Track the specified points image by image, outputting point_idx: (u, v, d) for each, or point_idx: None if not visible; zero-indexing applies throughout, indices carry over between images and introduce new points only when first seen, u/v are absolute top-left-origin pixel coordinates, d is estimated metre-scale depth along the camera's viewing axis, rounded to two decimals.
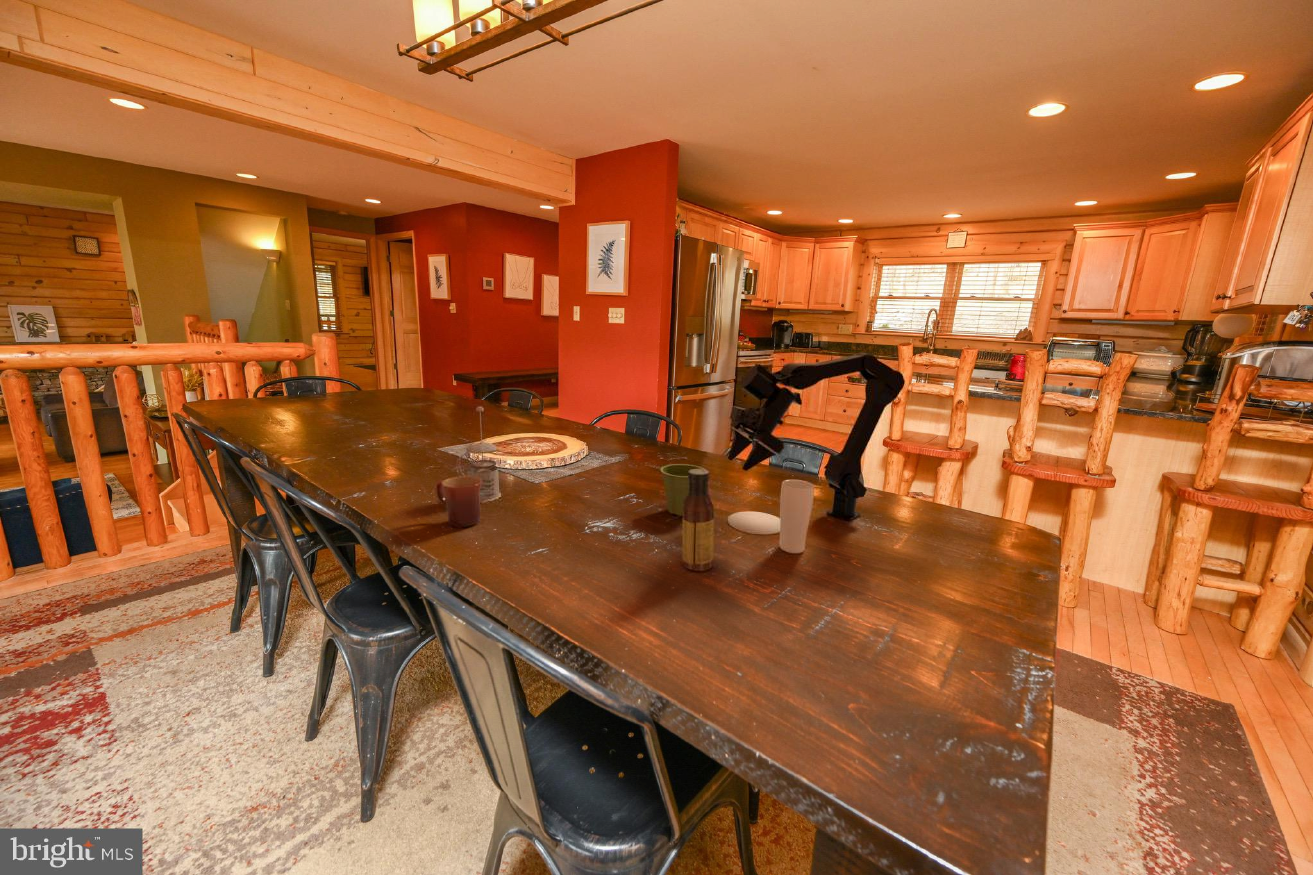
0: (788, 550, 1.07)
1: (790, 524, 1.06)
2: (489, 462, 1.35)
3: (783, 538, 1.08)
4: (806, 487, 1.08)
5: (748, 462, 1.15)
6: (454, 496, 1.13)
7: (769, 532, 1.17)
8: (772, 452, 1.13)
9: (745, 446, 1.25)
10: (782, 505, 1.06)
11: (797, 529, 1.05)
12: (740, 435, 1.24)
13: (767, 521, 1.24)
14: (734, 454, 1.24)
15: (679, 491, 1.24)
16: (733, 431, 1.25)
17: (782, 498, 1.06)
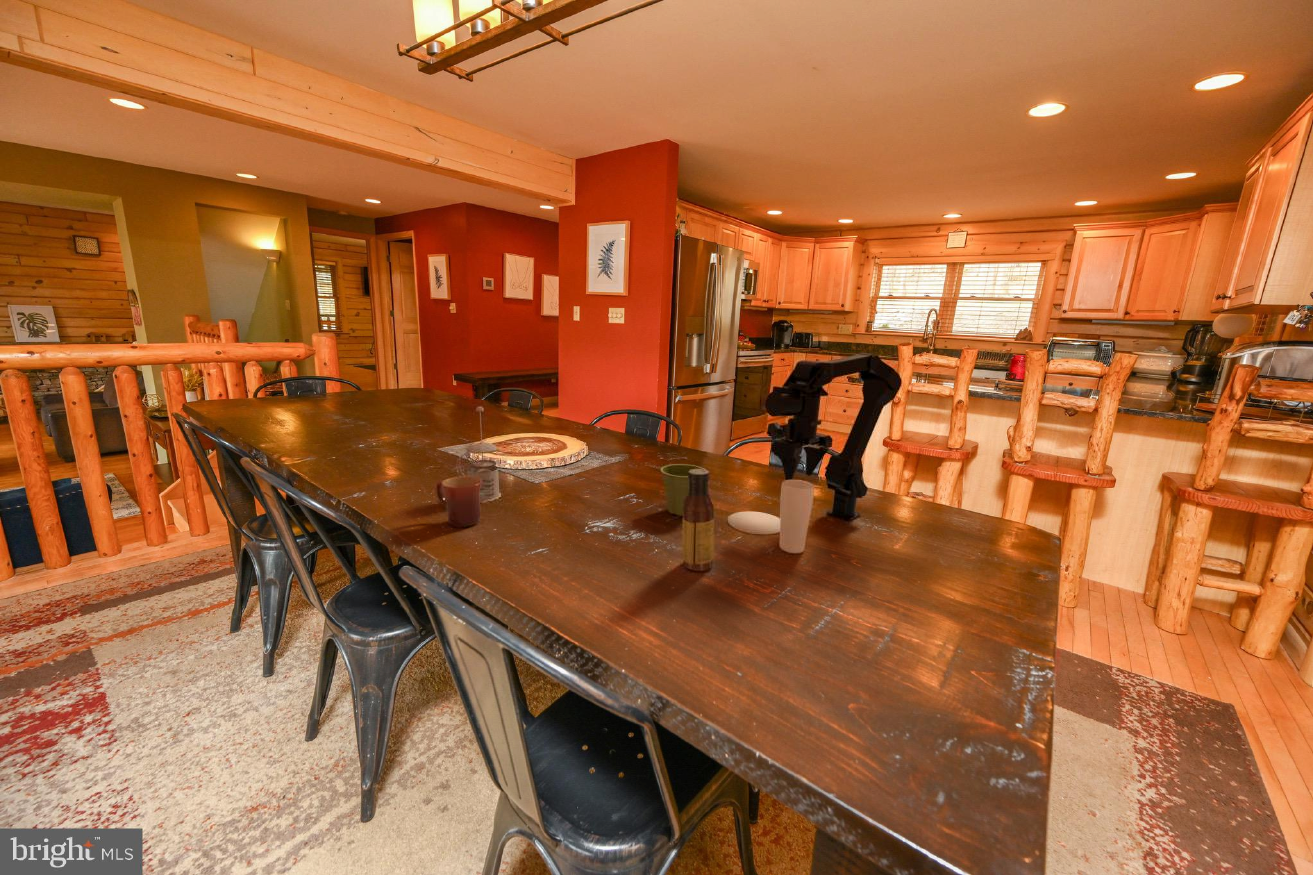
0: (788, 550, 1.07)
1: (790, 524, 1.06)
2: (489, 462, 1.35)
3: (783, 538, 1.08)
4: (806, 487, 1.08)
5: (785, 473, 1.17)
6: (454, 496, 1.13)
7: (769, 532, 1.17)
8: (790, 457, 1.12)
9: (818, 457, 1.21)
10: (782, 505, 1.06)
11: (797, 529, 1.05)
12: (809, 448, 1.23)
13: (767, 521, 1.24)
14: (810, 468, 1.23)
15: (679, 491, 1.24)
16: None
17: (782, 498, 1.06)
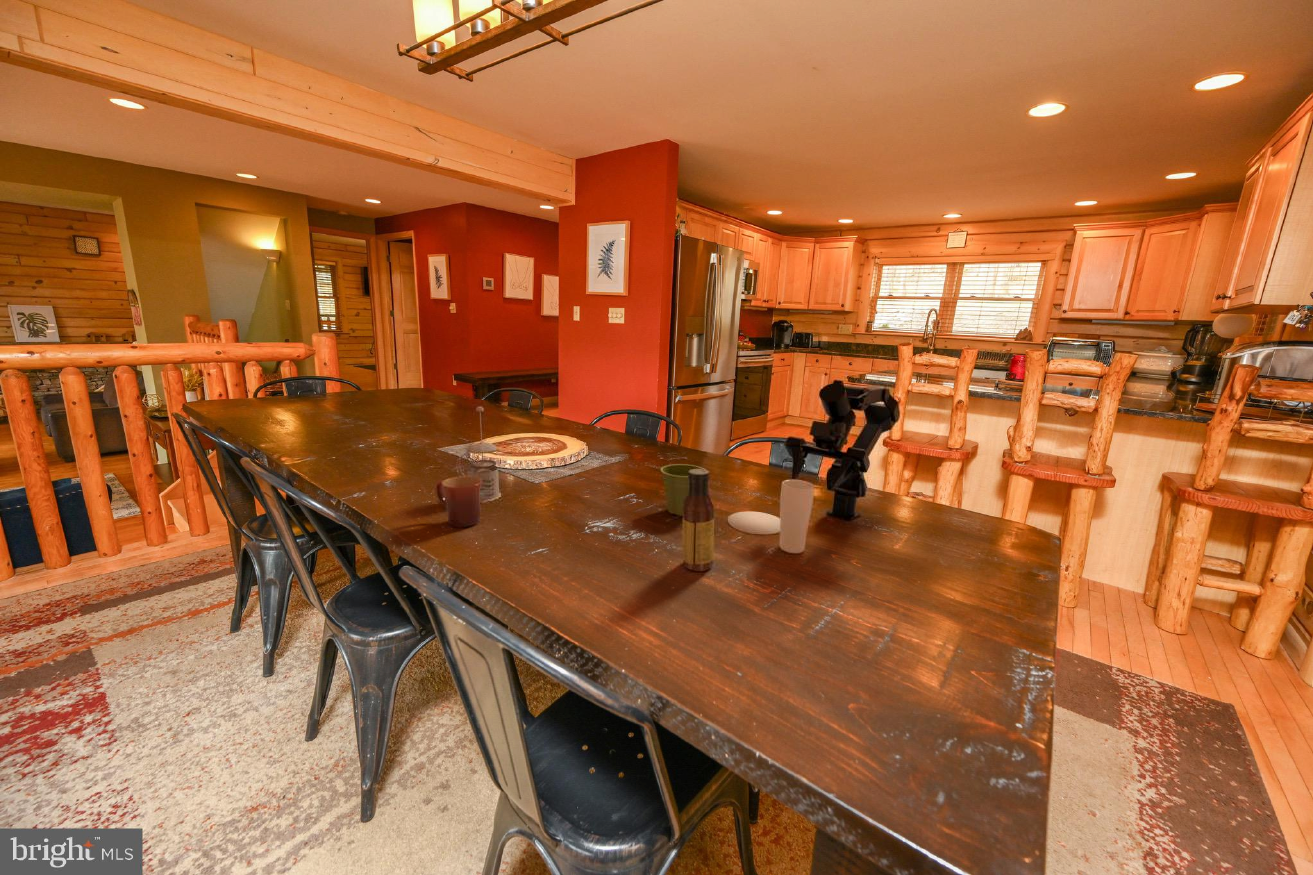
0: (788, 550, 1.07)
1: (790, 524, 1.06)
2: (489, 462, 1.35)
3: (783, 538, 1.08)
4: (806, 487, 1.08)
5: (838, 480, 1.09)
6: (454, 496, 1.13)
7: (769, 532, 1.17)
8: (859, 470, 1.11)
9: (802, 465, 1.18)
10: (782, 505, 1.06)
11: (797, 529, 1.05)
12: (801, 453, 1.17)
13: (767, 521, 1.24)
14: (797, 473, 1.16)
15: (679, 491, 1.24)
16: (795, 449, 1.16)
17: (782, 498, 1.06)
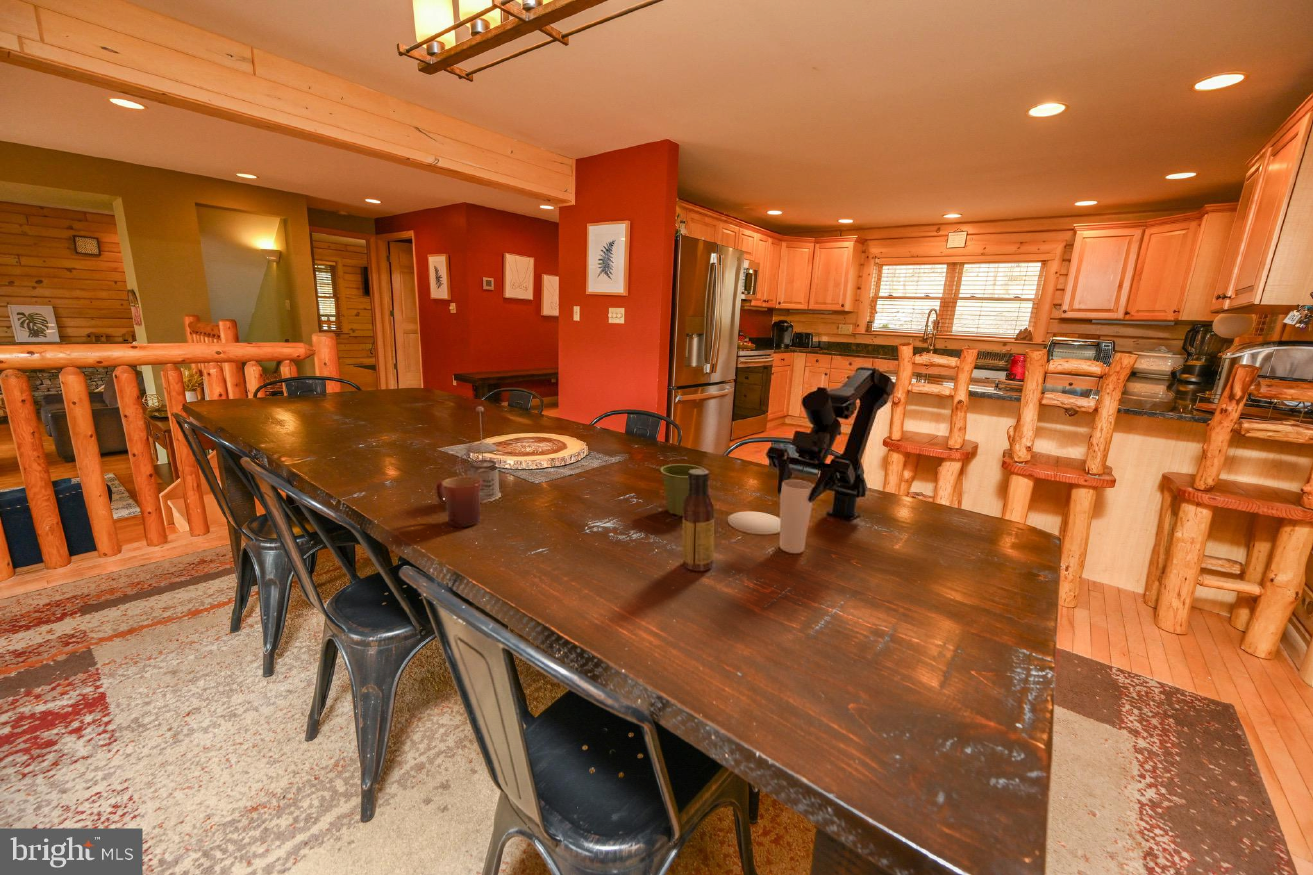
0: (788, 550, 1.07)
1: (790, 524, 1.06)
2: (489, 462, 1.35)
3: (783, 538, 1.08)
4: (806, 487, 1.08)
5: (816, 492, 1.03)
6: (454, 496, 1.13)
7: (769, 532, 1.17)
8: (839, 482, 1.05)
9: (788, 478, 1.11)
10: (782, 505, 1.06)
11: (797, 529, 1.05)
12: (787, 465, 1.10)
13: (767, 521, 1.24)
14: None
15: (679, 491, 1.24)
16: (781, 461, 1.09)
17: (782, 498, 1.06)
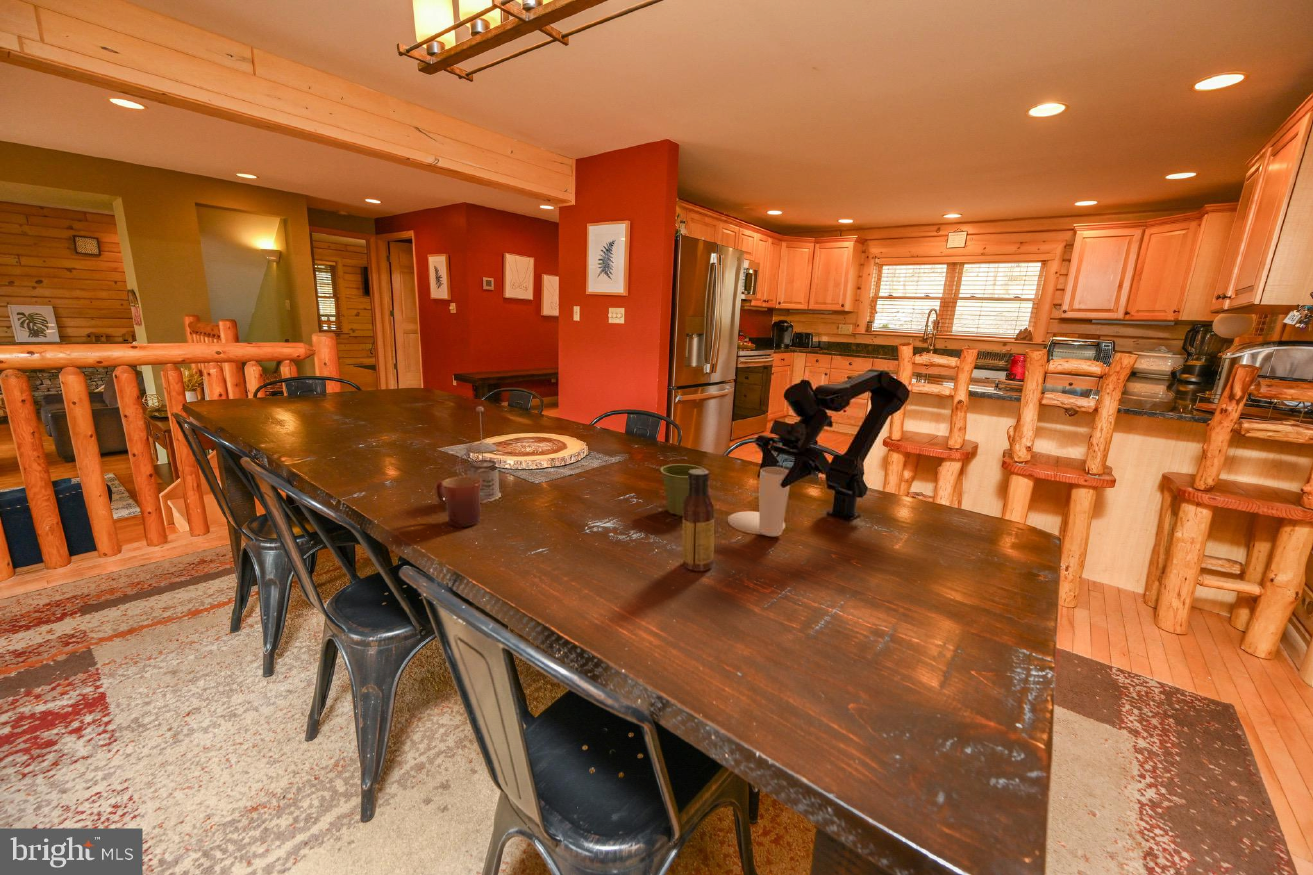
0: (764, 532, 1.14)
1: (764, 508, 1.12)
2: (489, 462, 1.35)
3: (760, 521, 1.15)
4: None
5: (788, 479, 1.09)
6: (454, 496, 1.13)
7: None
8: (814, 470, 1.09)
9: (773, 465, 1.18)
10: (759, 489, 1.13)
11: (771, 513, 1.12)
12: (771, 453, 1.17)
13: None
14: None
15: (679, 491, 1.24)
16: (764, 448, 1.16)
17: (759, 483, 1.13)
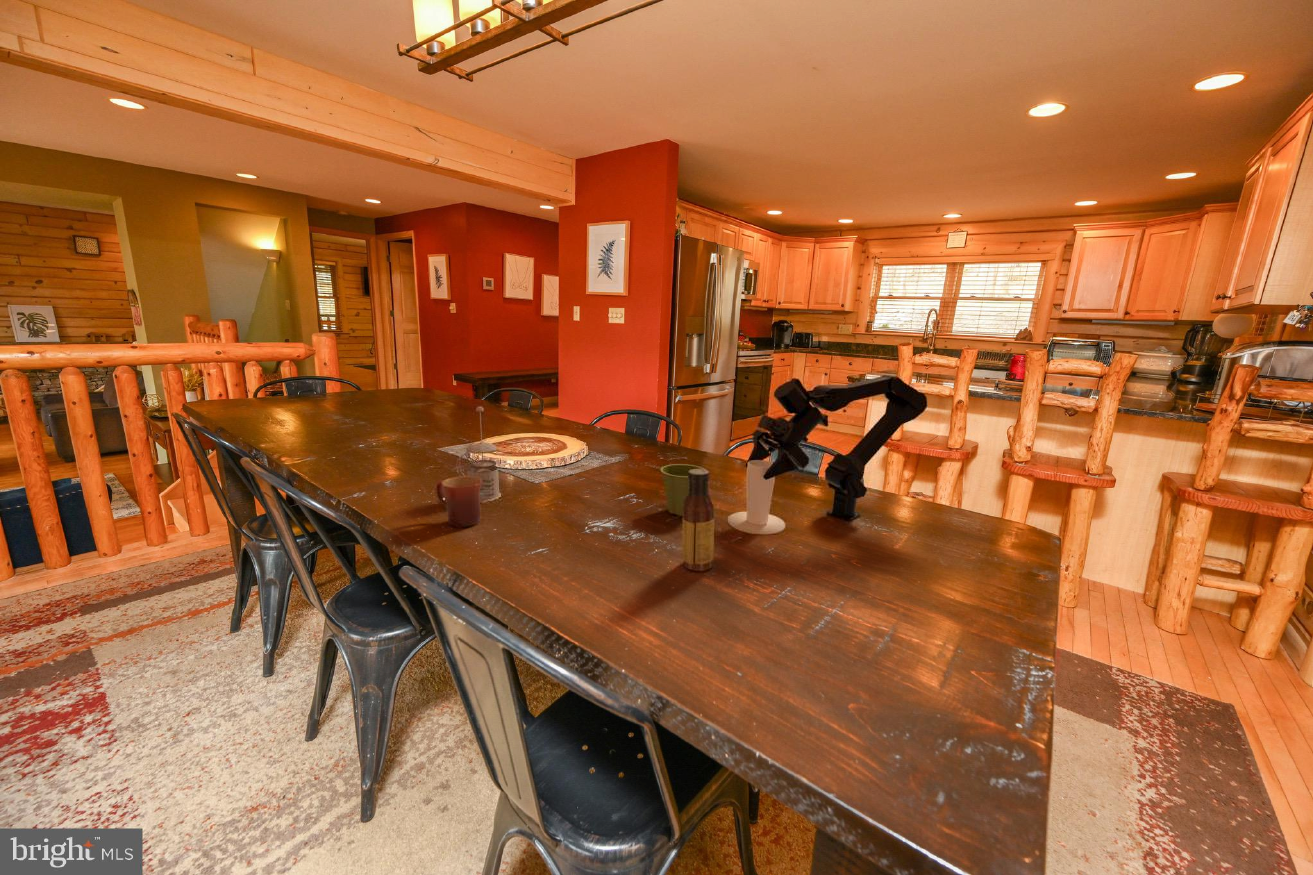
0: (748, 520, 1.22)
1: (748, 497, 1.21)
2: (489, 462, 1.35)
3: None
4: None
5: (770, 471, 1.15)
6: (454, 496, 1.13)
7: (769, 532, 1.17)
8: (796, 465, 1.14)
9: (763, 457, 1.26)
10: (746, 480, 1.22)
11: (754, 502, 1.20)
12: (761, 445, 1.25)
13: None
14: None
15: (679, 491, 1.24)
16: (755, 440, 1.25)
17: None
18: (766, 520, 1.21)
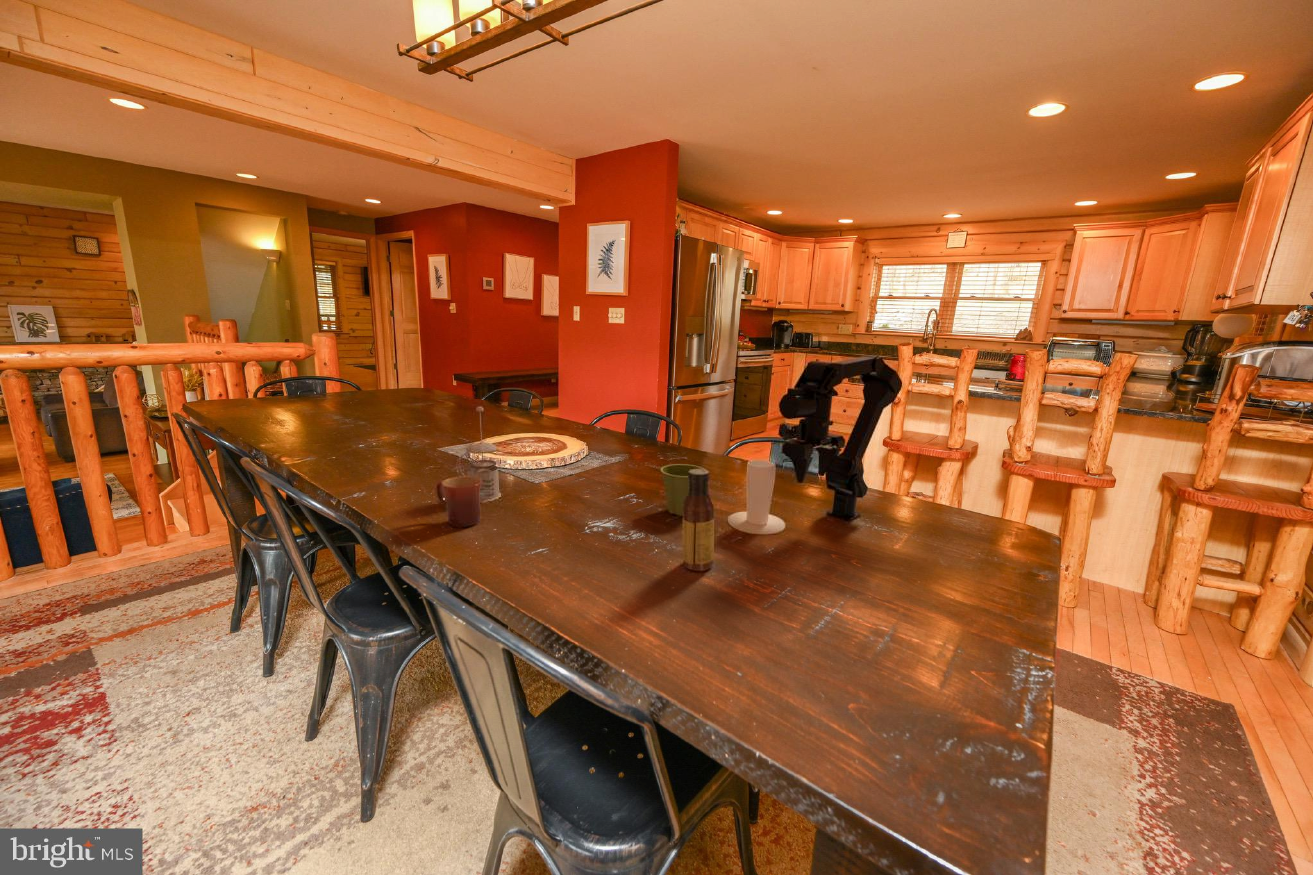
0: (748, 520, 1.22)
1: (748, 497, 1.21)
2: (489, 462, 1.35)
3: None
4: None
5: (796, 474, 1.17)
6: (454, 496, 1.13)
7: (769, 532, 1.17)
8: (800, 458, 1.12)
9: (831, 457, 1.21)
10: (746, 480, 1.22)
11: (754, 502, 1.20)
12: (821, 449, 1.23)
13: None
14: (822, 469, 1.22)
15: (679, 491, 1.24)
16: None
17: None
18: (766, 520, 1.21)
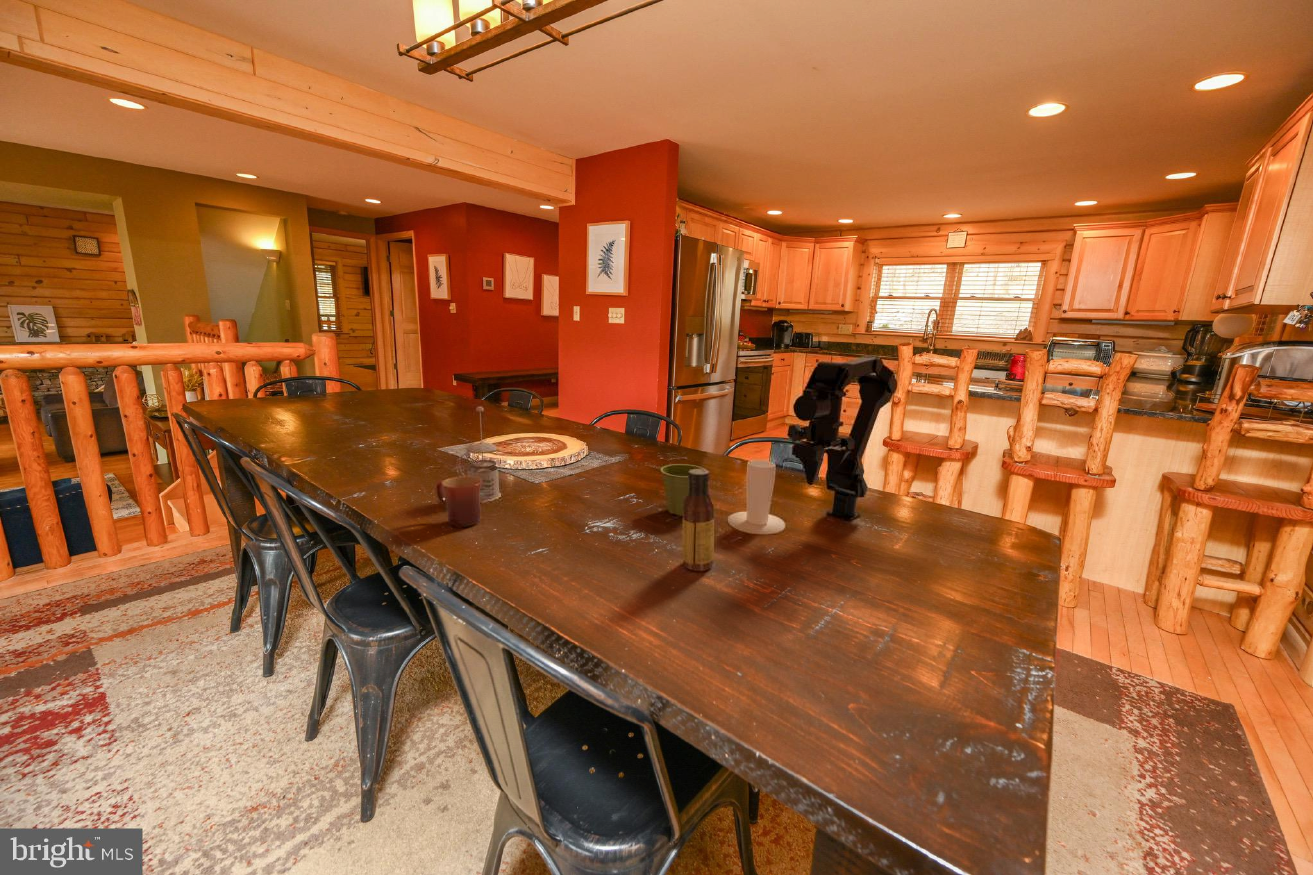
0: (748, 520, 1.22)
1: (748, 497, 1.21)
2: (489, 462, 1.35)
3: None
4: None
5: (807, 476, 1.15)
6: (454, 496, 1.13)
7: (769, 532, 1.17)
8: (811, 459, 1.11)
9: (840, 459, 1.20)
10: (746, 480, 1.22)
11: (754, 502, 1.20)
12: (830, 450, 1.22)
13: None
14: (831, 470, 1.21)
15: (679, 491, 1.24)
16: None
17: (746, 474, 1.22)
18: (766, 520, 1.21)
